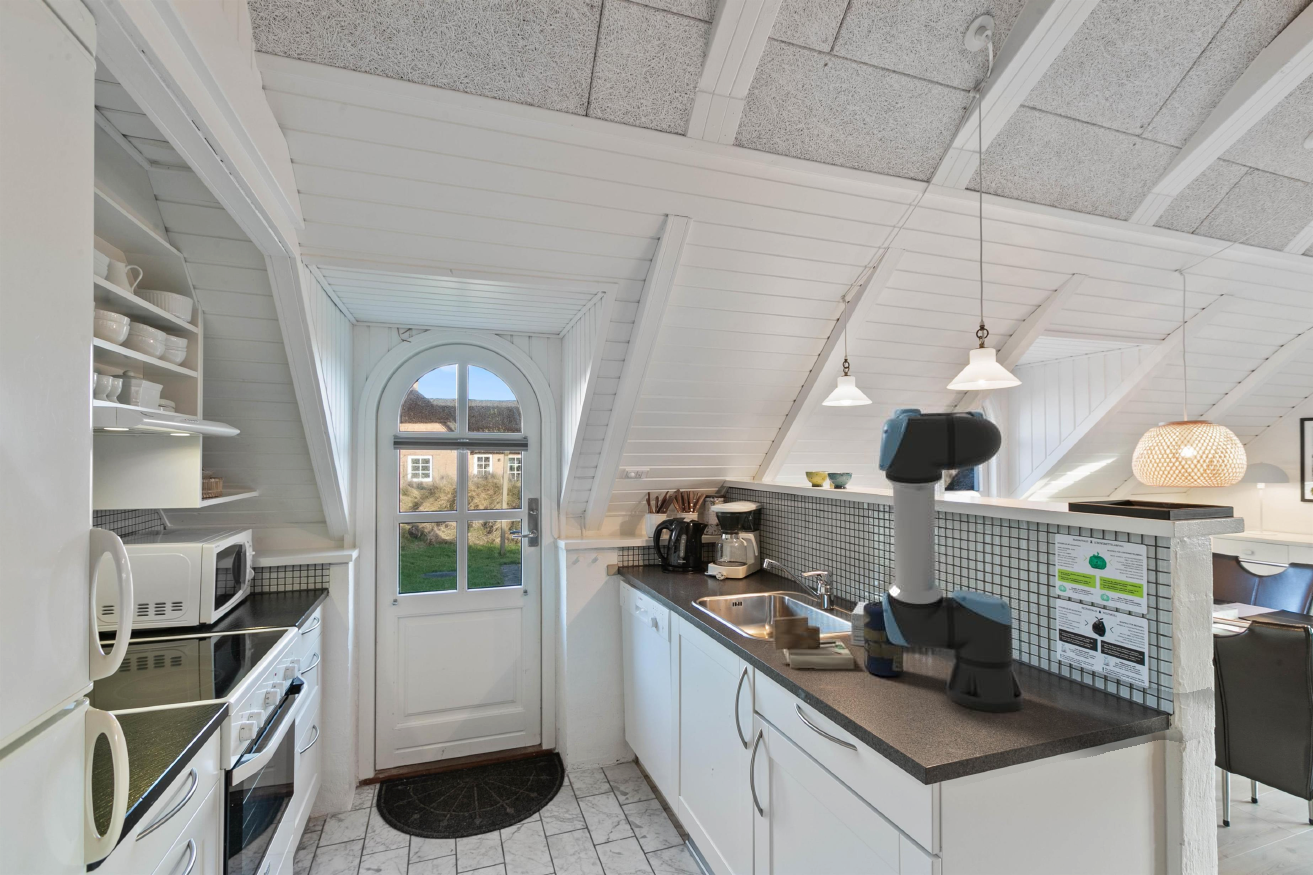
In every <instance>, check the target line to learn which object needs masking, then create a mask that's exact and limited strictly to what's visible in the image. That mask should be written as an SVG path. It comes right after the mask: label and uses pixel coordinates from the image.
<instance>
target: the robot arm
mask: <svg viewBox="0 0 1313 875" xmlns="http://www.w3.org/2000/svg"><path fill="white" fill-rule="evenodd" d="M1002 438H1003V437H1002V434H1001V430H1000V429H999V428H998V426H997V425H996V424H995V423H994V422H992V421H991V420H989V419H987V418H985V417H984V414H983V413H982V412H980V411H971V410H968V411H960V412H959V411H958V412H956V411H953V412H922V411H921V409H919V408H899V409H896V410H894V412H893V418H889V419H886V421H884V423H883V425H882V431H881V439H880V440H881V441H880V449H879V460H878V470H879V471H882V472H885V479H886V481H888V482H889V483H890V484H892V497H893V498H892V499H893V500H892V501H893V504H892V505H893V539H894V540H893V542H894V543H893V544H894V545H893V546H894V547H893V548H894V581H893V582H892V583H890V584H889V585H888V592H885V593H882V595H881V596H882V597H881V601H882V604H883V611H884V620H885V626H886V631H887V635H888V638H889V640H890V641H891V642H892V643H894V644H897V645H903V647H904V646H905V647H908V648H912V647H913V648H914V647H915V648H924V649H925V648H928V649H939V650H950V651H954V653H953V654H954V656H953V657H954V660H953V664H952V668H951V670H950V673H949V676H948V679H947V682H946V696H947V697H948V698H949V699H950V700H951V701H952V702H955V703H957V704H958V705H961V706H963V707H966V708H968V709H969V708H970V709H973V710H977V711H983V712H990V713H1012V712H1017V711H1019V710H1021V709H1023V708H1024V695H1023V692H1022V690H1021V686H1020V683H1019V681H1018V678H1017V676H1016V673H1015V671H1014V663H1013V635H1012V634H1013V633H1012V627H1013V620H1012V612H1011V611H1012V610H1011V607H1010V605H1009V603H1007V601H1005V600H1003V599H1001V598H999V597H997V596H994V595H991V594H988V593H984V592H978V591H973V590H967V589H965V590H963V589H962V590H961V589H960V590H959V589H957V590H953V592H952V594H951V596H944V592H943V589H942V588H941V587H940V586H939V585H938V584H936V507H935V506H936V500H935V499H936V497H935V495H936V494H935V491H936V489H935V488H936V487H935V486H936V485H937V484H939V483H940V482H941V481H942V480H943V471H960V470H961V471H962V470H968V469H972V468H976V467H978V466H981V465H983V464H986V462H988V461H990V460H992V459H993V458H994V457H995V455H997V454H998V452H999V450H1000V448H1001V446H1002Z"/></svg>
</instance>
